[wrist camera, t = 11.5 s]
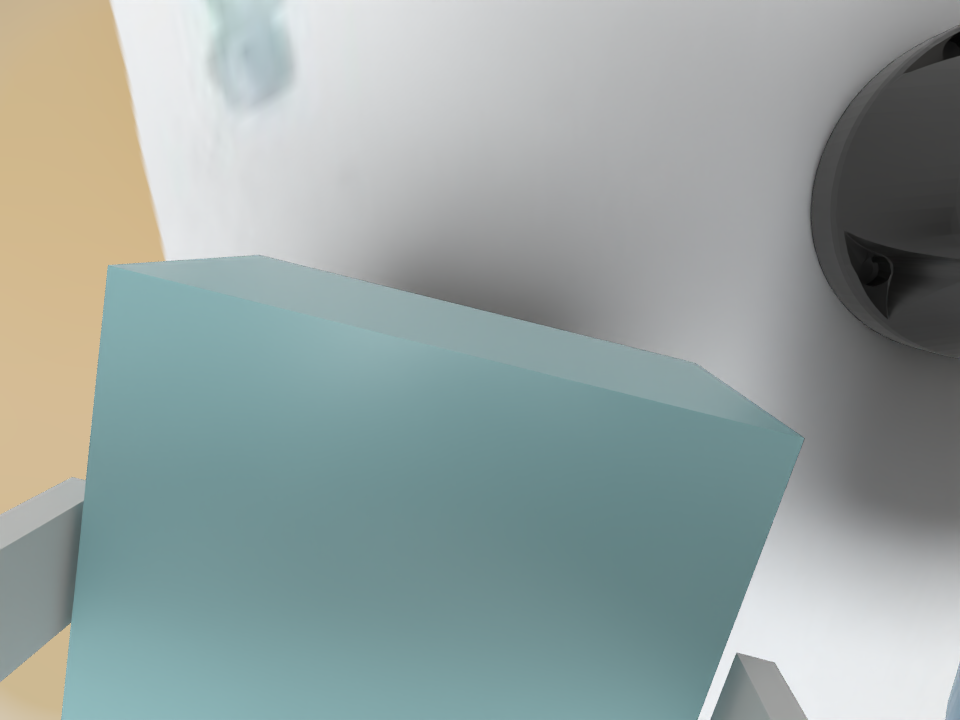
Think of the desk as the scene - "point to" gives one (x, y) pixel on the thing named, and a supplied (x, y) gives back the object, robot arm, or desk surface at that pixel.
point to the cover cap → (401, 509)
